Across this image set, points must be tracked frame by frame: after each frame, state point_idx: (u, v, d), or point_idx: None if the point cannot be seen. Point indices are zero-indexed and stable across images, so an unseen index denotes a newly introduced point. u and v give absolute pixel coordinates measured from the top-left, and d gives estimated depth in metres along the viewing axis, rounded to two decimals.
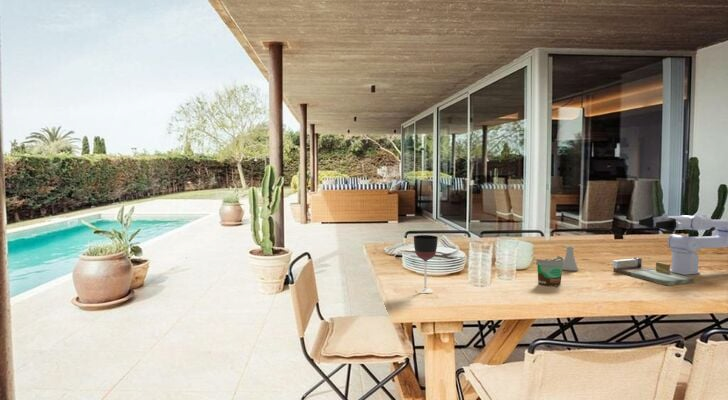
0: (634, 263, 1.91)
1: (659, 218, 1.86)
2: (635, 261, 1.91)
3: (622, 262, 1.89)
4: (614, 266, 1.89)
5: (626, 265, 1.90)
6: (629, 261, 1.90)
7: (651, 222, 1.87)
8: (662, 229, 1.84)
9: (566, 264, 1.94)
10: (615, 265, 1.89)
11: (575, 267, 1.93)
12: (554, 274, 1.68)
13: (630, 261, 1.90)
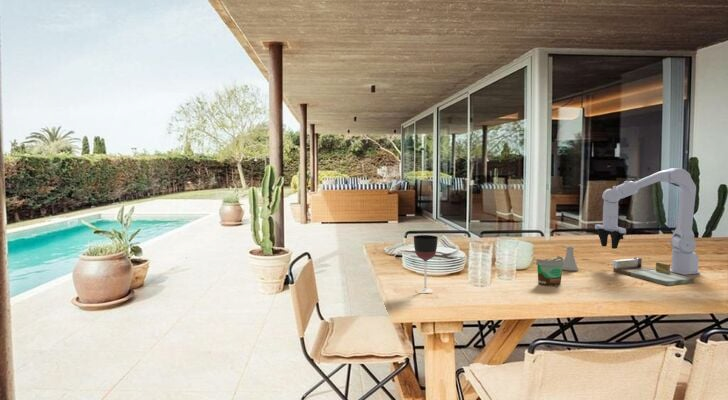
0: (634, 263, 1.91)
1: (602, 227, 1.97)
2: (635, 261, 1.91)
3: (622, 262, 1.89)
4: (614, 266, 1.89)
5: (626, 265, 1.90)
6: (629, 261, 1.90)
7: (605, 232, 1.98)
8: None
9: (566, 264, 1.94)
10: (615, 265, 1.89)
11: (575, 267, 1.93)
12: (554, 274, 1.68)
13: (630, 261, 1.90)
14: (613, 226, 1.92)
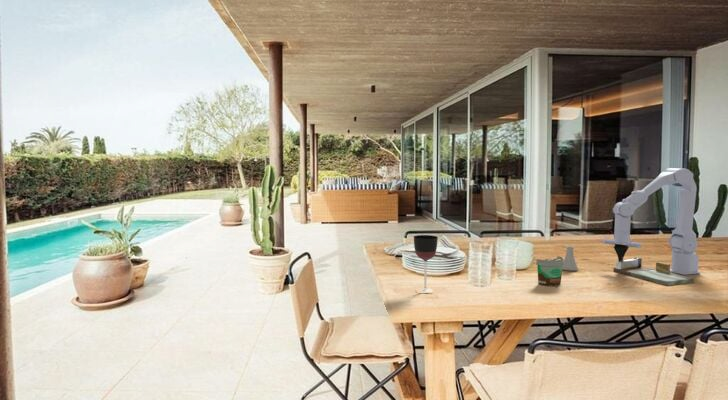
0: (635, 263, 1.91)
1: (614, 242, 1.90)
2: (636, 261, 1.91)
3: (625, 263, 1.88)
4: (618, 267, 1.88)
5: (628, 265, 1.89)
6: (631, 261, 1.89)
7: None
8: None
9: (566, 264, 1.94)
10: (619, 266, 1.87)
11: (575, 267, 1.93)
12: (554, 274, 1.68)
13: (632, 261, 1.90)
14: (627, 241, 1.87)
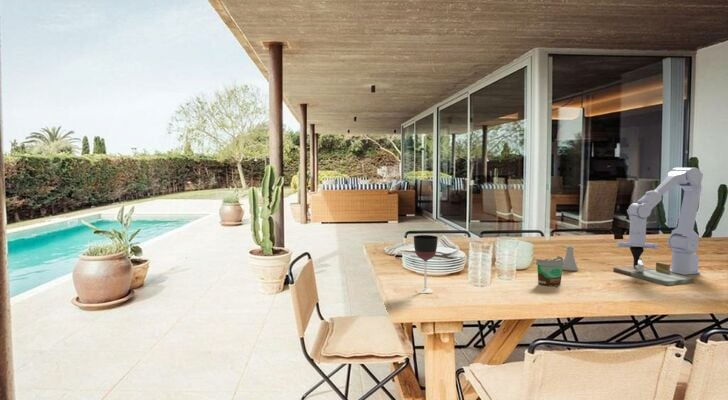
0: None
1: None
2: None
3: None
4: (640, 270, 1.82)
5: None
6: (641, 262, 1.87)
7: None
8: None
9: (566, 264, 1.94)
10: (641, 269, 1.81)
11: (575, 267, 1.93)
12: (554, 274, 1.68)
13: (641, 262, 1.88)
14: None
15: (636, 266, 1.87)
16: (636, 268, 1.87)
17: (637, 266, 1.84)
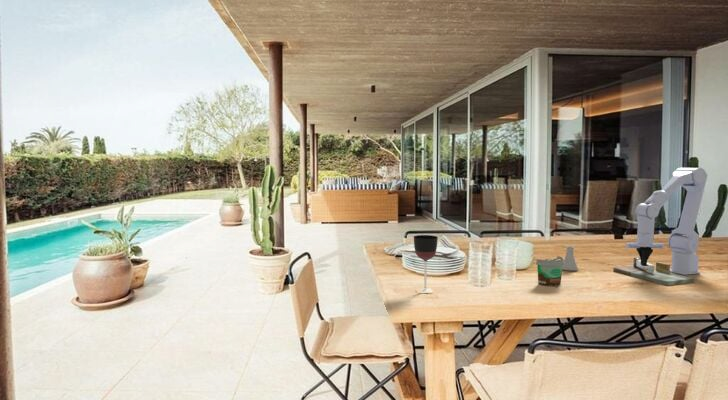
0: None
1: None
2: None
3: None
4: (650, 271, 1.81)
5: None
6: None
7: None
8: None
9: (566, 264, 1.94)
10: (652, 269, 1.80)
11: (575, 267, 1.93)
12: (554, 274, 1.68)
13: None
14: None
15: (642, 266, 1.86)
16: (642, 268, 1.86)
17: (646, 267, 1.82)
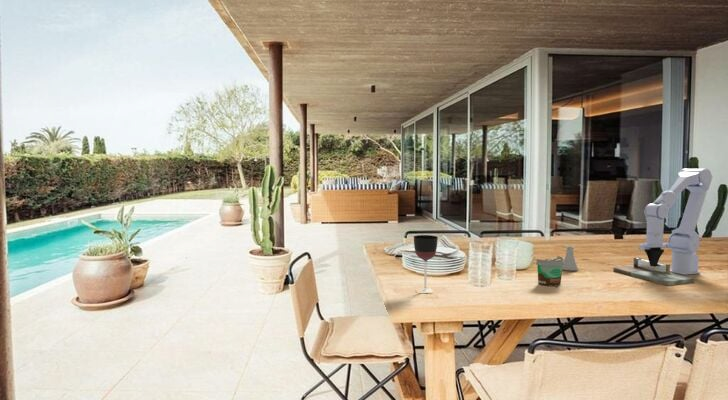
0: None
1: None
2: None
3: None
4: (663, 271, 1.81)
5: None
6: None
7: None
8: None
9: (566, 264, 1.94)
10: (664, 269, 1.81)
11: (575, 267, 1.93)
12: (554, 274, 1.68)
13: None
14: None
15: (650, 267, 1.86)
16: (650, 269, 1.86)
17: (658, 267, 1.82)
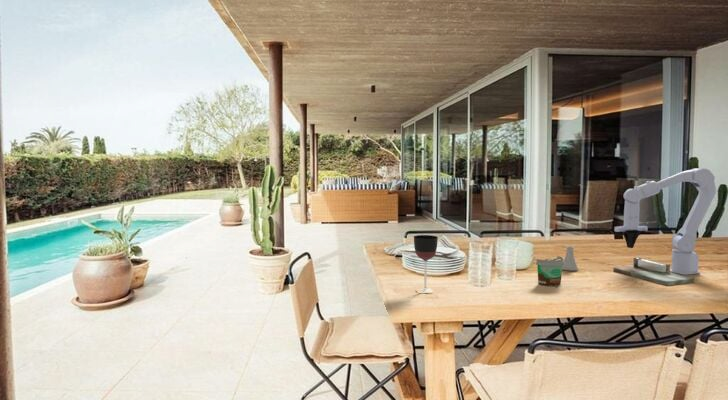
0: None
1: None
2: None
3: None
4: (663, 271, 1.81)
5: None
6: None
7: None
8: None
9: (566, 264, 1.94)
10: (664, 269, 1.81)
11: (575, 267, 1.93)
12: (554, 274, 1.68)
13: None
14: None
15: (650, 267, 1.86)
16: (650, 269, 1.86)
17: (658, 267, 1.82)
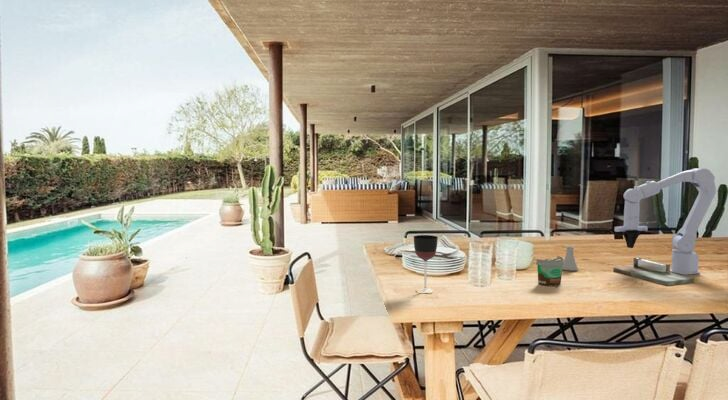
0: None
1: None
2: None
3: None
4: (663, 271, 1.81)
5: None
6: None
7: None
8: None
9: (566, 264, 1.94)
10: (664, 269, 1.81)
11: (575, 267, 1.93)
12: (554, 274, 1.68)
13: None
14: None
15: (650, 267, 1.86)
16: (650, 269, 1.86)
17: (658, 267, 1.82)
